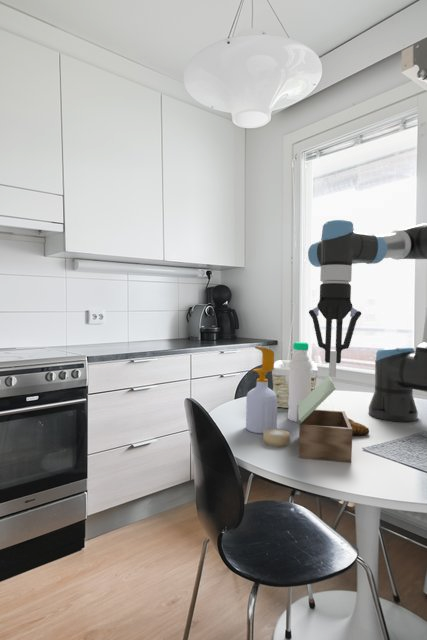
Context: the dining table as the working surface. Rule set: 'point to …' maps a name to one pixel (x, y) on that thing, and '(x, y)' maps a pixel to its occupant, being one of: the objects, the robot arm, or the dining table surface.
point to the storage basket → (287, 381)
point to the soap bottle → (262, 398)
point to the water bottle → (298, 378)
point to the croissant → (358, 428)
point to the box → (326, 436)
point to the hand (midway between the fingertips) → (332, 375)
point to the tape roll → (276, 437)
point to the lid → (314, 399)
